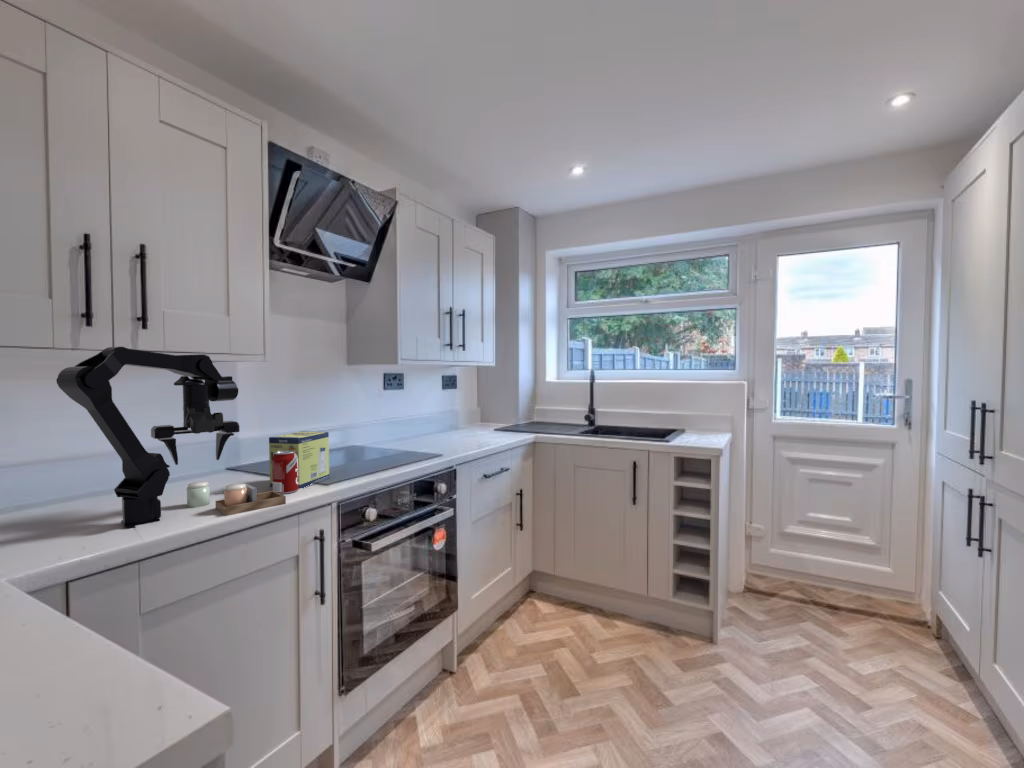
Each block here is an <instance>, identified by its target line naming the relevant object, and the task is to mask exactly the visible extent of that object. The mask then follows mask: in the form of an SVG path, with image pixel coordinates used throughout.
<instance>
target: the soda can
mask: <svg viewBox="0 0 1024 768" xmlns="http://www.w3.org/2000/svg"><path fill="white" fill-rule="evenodd" d="M274 454H275V455H274V457H273V458H272V480H273V487H272V491H275V492H277V493H280V494H282V495H288V494H294V493H296V492H297V491H299V486H298V456H297V455H296V454H295V451H294V450H283V451H277V452H274Z"/></svg>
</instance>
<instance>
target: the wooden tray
mask: <svg viewBox="0 0 1024 768" xmlns="http://www.w3.org/2000/svg"><path fill="white" fill-rule="evenodd" d="M286 498H287V497H286V496H285V494H280V493H277V492H275V491H273V490H269V491H264V492H258V493H257V501H254V502H249V503H244V504H239V505H233V506H228V507H226V506H225V501H224V499H219V500H218V499H217V500H215V510H216V511H218V512H220V513H221V514H222V515H224V516H225V517H227V516H232V515H238V514H242V513H248V512H252V511H257V510H263V509H268V508H273V507H277V506H283V505H286V503H287V502H286V501H287V500H286Z"/></svg>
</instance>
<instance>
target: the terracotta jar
mask: <svg viewBox="0 0 1024 768" xmlns="http://www.w3.org/2000/svg"><path fill="white" fill-rule="evenodd" d="M246 484H247V483H233V484H228V485H226V486H225V489H224V491H223V494H224V495H223V496H224V499H223V500H224V501H225V506H226V507H228V506H233V505H239V504H244V503H247V487H246Z"/></svg>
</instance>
